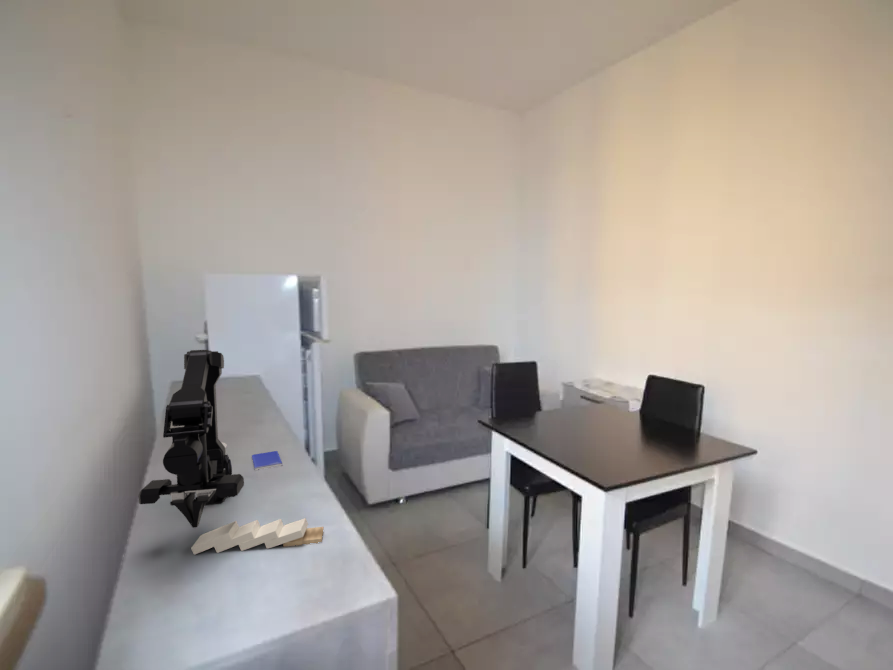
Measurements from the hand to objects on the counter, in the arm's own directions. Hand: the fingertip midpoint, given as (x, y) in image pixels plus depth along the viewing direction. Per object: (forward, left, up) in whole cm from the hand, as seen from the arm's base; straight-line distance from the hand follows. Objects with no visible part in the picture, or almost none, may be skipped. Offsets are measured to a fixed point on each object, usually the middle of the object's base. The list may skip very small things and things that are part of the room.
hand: (195, 526), depth 93 cm
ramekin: (-51, -14, -5) cm, 53 cm away
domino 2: (0, +5, -4) cm, 6 cm away
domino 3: (0, +10, -4) cm, 10 cm away
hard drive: (-49, +4, -6) cm, 49 cm away
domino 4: (0, +15, -4) cm, 15 cm away
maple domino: (0, +18, -5) cm, 19 cm away
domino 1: (0, 0, -4) cm, 4 cm away
